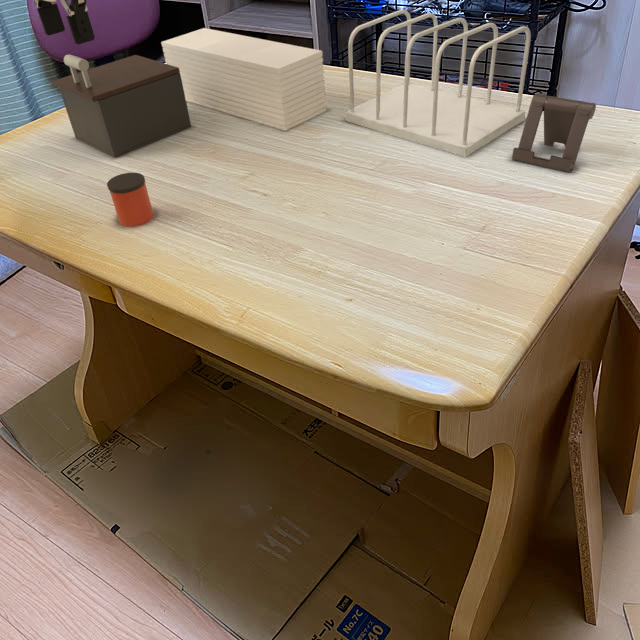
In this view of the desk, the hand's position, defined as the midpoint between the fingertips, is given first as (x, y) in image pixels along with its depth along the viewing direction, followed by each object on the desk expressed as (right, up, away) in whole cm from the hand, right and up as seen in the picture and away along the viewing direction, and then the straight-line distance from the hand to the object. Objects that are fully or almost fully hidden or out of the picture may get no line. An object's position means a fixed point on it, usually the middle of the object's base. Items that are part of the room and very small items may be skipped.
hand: (70, 37), depth 98 cm
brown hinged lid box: (+6, -11, +15) cm, 19 cm away
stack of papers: (+25, -3, +22) cm, 34 cm away
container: (+13, -30, -10) cm, 35 cm away
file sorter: (+59, -11, +9) cm, 60 cm away
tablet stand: (+74, -20, -5) cm, 77 cm away
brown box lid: (+5, -3, +8) cm, 10 cm away
